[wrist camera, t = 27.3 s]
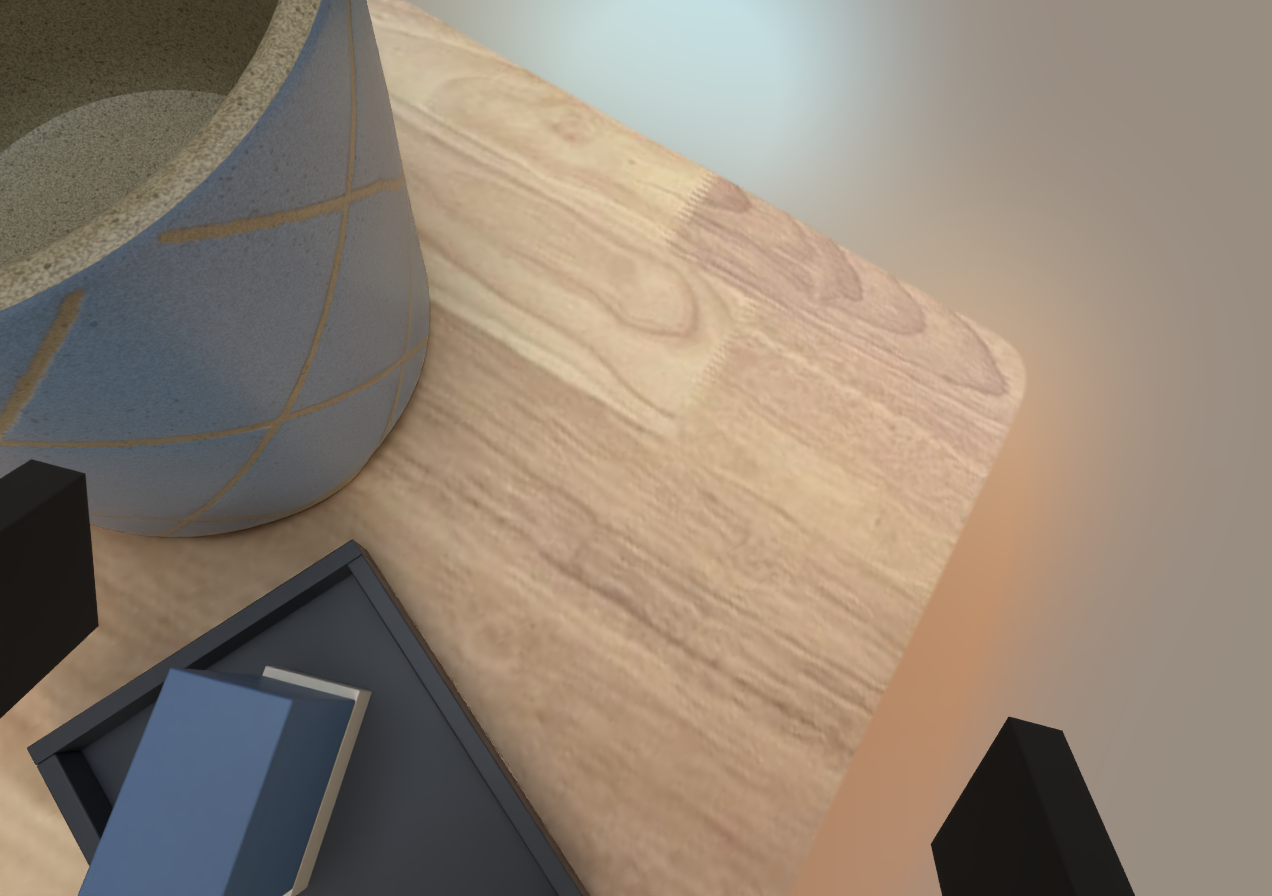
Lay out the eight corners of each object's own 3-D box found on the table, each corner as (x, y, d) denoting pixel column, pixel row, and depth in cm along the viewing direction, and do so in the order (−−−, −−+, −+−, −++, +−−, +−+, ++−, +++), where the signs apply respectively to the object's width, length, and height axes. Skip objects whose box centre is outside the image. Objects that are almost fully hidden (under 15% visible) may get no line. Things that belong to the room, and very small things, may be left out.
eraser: (306, 888, 35) (197, 967, 24) (212, 863, 35) (61, 932, 24) (372, 691, 37) (298, 686, 27) (283, 667, 37) (174, 653, 27)
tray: (609, 926, 36) (613, 943, 33) (298, 1184, 32) (276, 1223, 30) (365, 549, 40) (352, 538, 37) (62, 745, 36) (25, 747, 34)
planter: (44, 114, 45) (-480, -481, 22) (480, 162, 46) (402, -353, 23) (-97, 542, 38) (-1047, 310, 16) (418, 584, 39) (227, 427, 17)
